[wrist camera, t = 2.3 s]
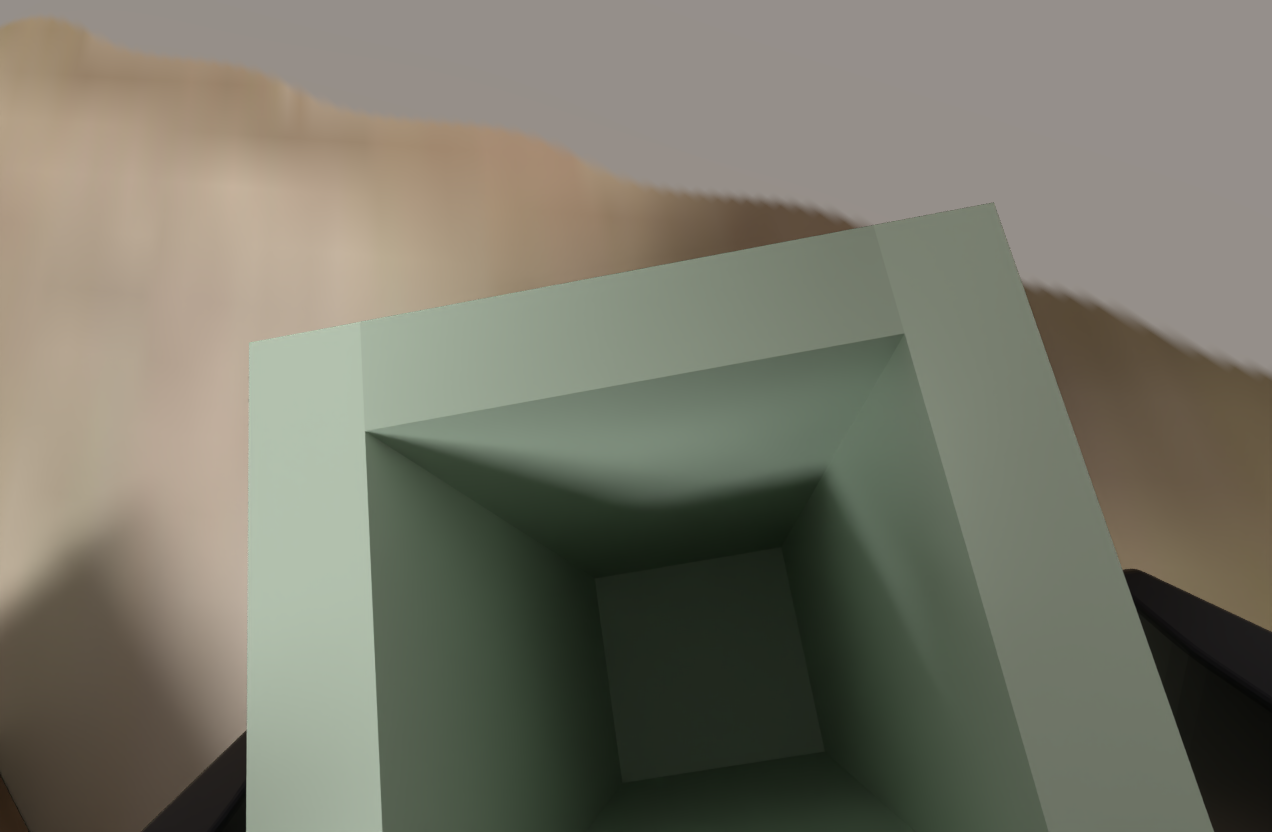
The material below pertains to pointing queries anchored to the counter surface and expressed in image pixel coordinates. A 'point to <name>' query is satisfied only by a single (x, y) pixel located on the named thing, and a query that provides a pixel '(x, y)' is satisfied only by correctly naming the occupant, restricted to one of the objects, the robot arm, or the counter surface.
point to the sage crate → (697, 561)
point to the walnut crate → (9, 813)
